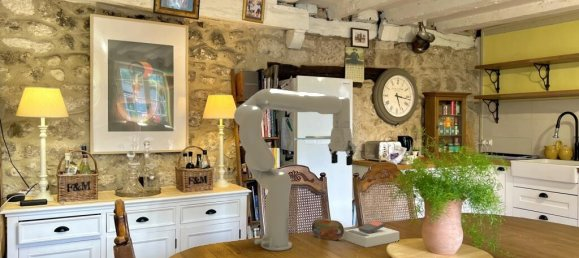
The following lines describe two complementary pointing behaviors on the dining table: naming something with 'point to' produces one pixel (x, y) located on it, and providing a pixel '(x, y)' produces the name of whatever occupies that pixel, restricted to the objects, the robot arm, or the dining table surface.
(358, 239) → the switch panel
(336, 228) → the tin
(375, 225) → the rocker
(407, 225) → the dining table surface
